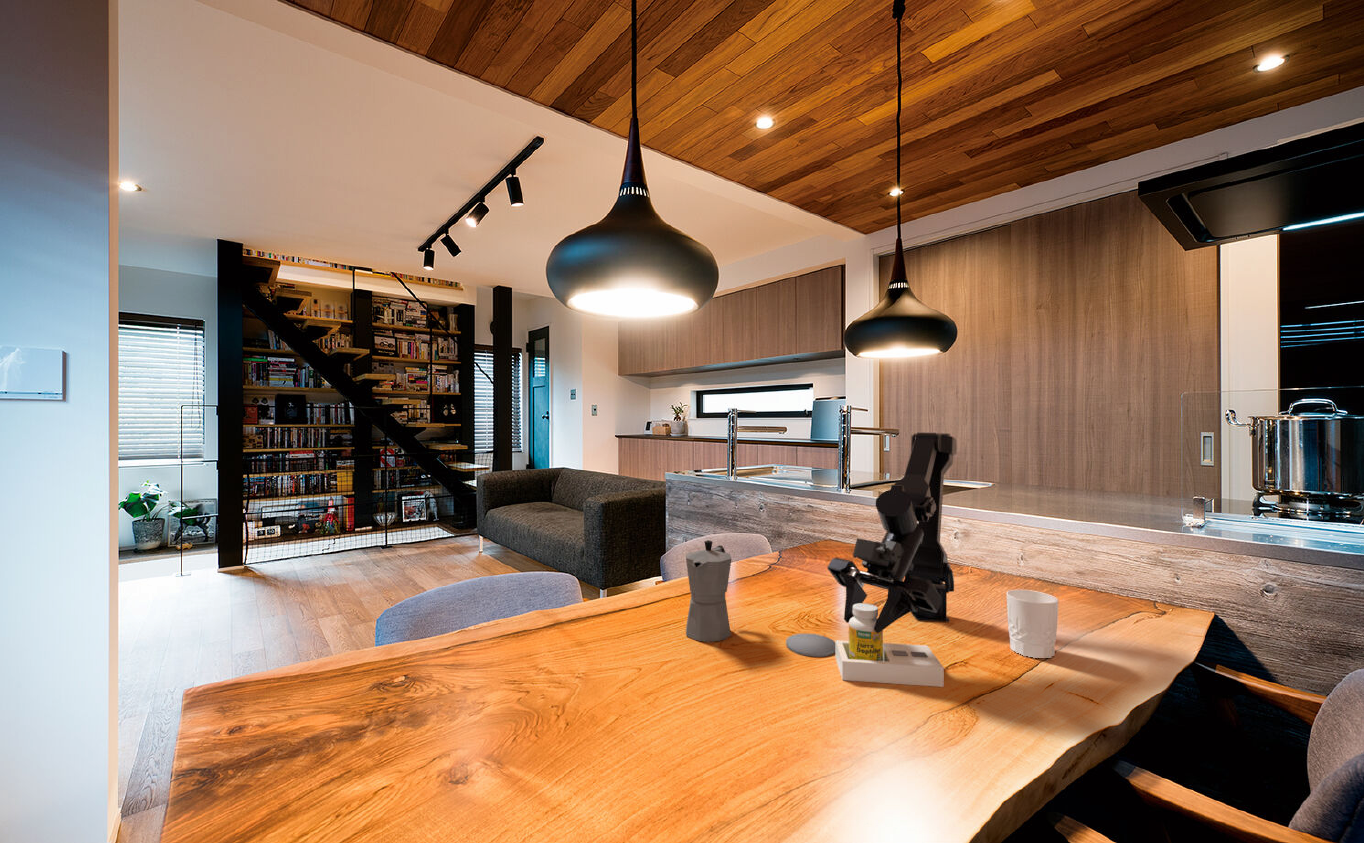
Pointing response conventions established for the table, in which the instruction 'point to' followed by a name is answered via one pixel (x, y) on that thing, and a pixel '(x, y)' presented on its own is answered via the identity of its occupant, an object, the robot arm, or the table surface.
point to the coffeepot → (708, 594)
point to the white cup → (1032, 622)
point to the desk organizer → (892, 665)
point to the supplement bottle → (865, 634)
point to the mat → (811, 645)
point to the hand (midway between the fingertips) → (860, 626)
